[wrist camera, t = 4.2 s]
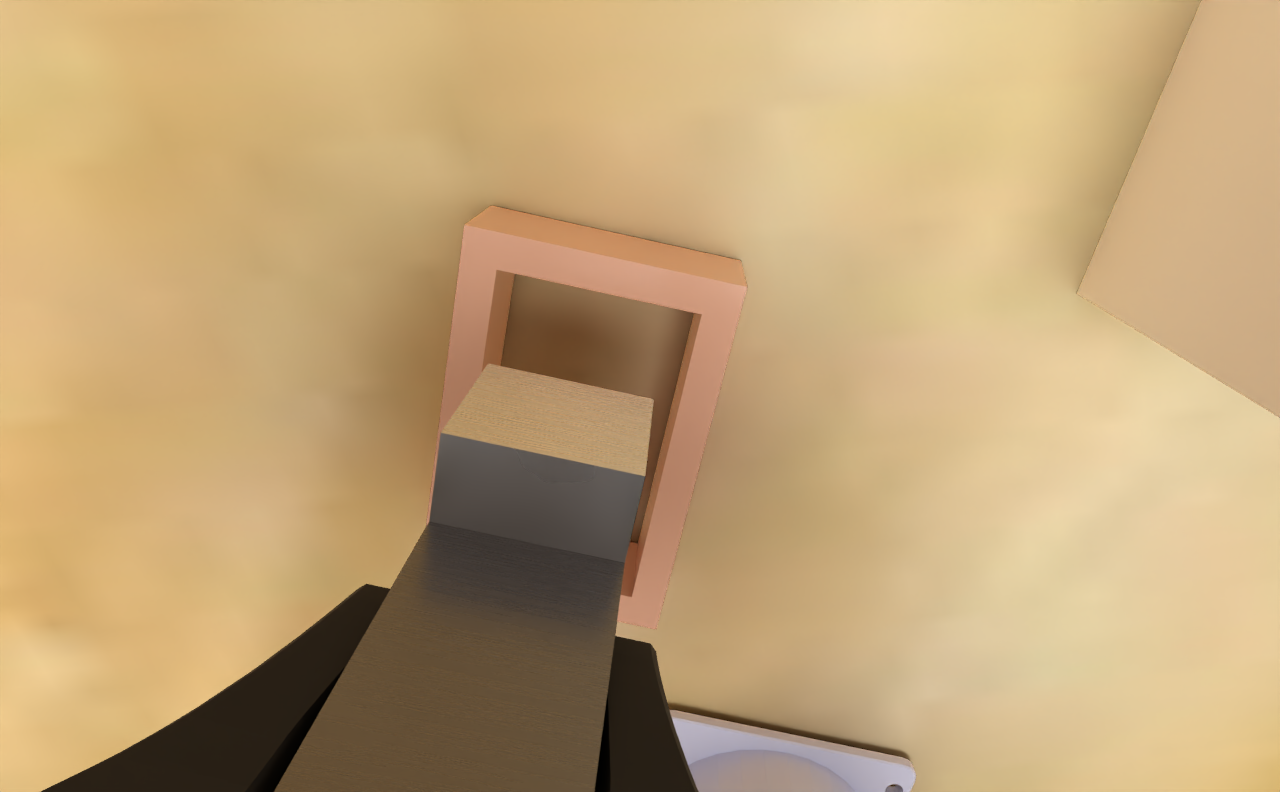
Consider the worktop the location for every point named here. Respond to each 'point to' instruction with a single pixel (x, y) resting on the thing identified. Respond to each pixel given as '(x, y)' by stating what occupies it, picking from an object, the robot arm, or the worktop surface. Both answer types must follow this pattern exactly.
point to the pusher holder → (623, 270)
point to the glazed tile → (1206, 207)
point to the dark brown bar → (496, 604)
